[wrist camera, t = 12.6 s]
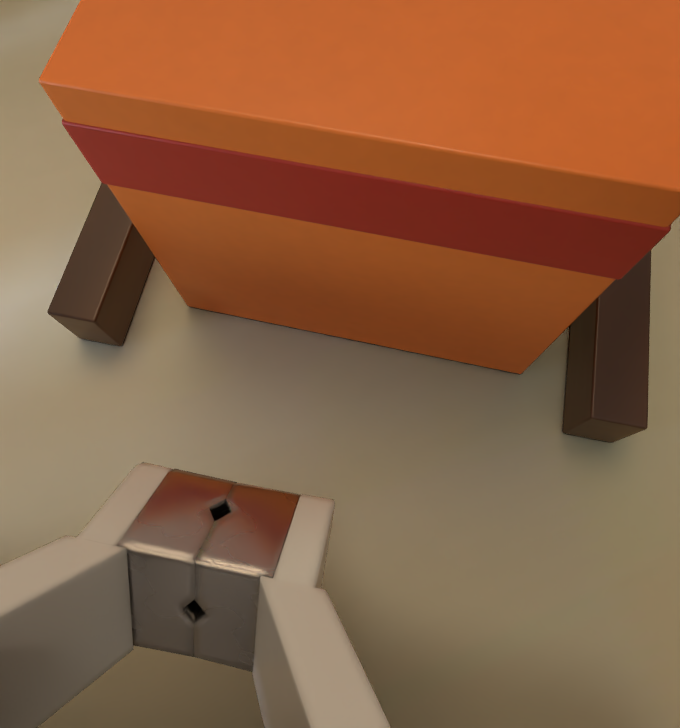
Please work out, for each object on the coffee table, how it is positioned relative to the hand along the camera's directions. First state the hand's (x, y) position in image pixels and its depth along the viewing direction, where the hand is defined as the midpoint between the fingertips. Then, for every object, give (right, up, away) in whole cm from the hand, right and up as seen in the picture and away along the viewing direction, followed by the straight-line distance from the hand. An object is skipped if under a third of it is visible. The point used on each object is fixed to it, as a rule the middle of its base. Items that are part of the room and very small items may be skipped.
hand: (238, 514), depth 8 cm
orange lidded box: (+3, +9, +11) cm, 15 cm away
